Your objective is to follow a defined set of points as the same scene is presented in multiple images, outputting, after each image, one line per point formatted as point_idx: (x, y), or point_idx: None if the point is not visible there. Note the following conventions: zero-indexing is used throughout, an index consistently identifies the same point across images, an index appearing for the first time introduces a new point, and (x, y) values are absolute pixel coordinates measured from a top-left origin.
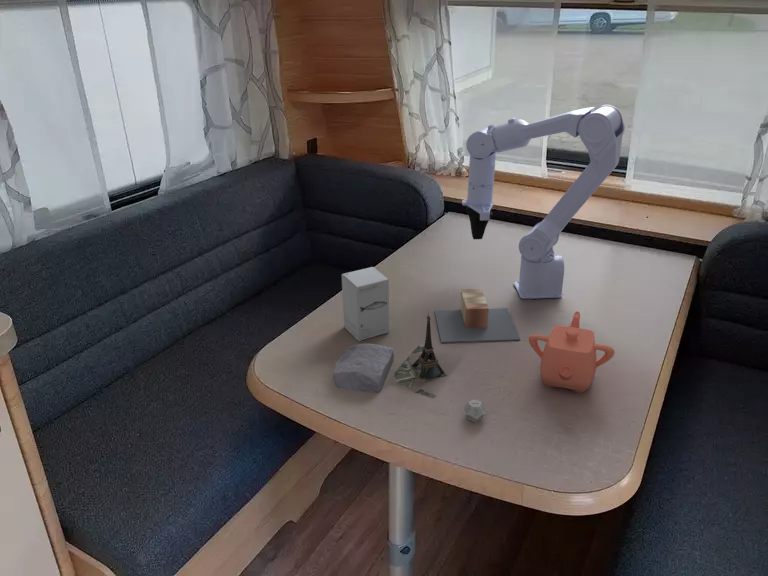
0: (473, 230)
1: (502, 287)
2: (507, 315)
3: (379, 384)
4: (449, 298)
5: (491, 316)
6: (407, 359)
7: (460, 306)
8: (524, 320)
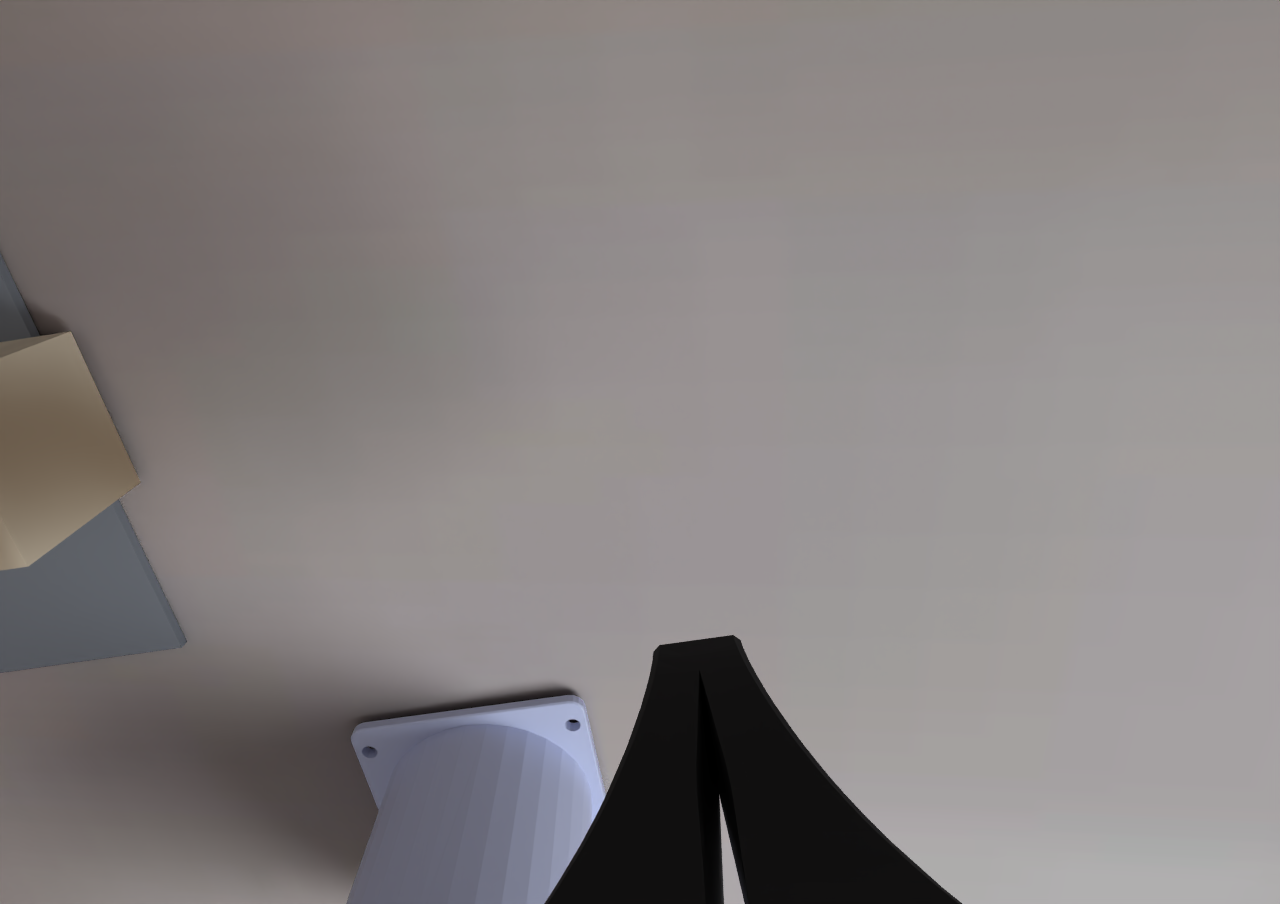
0: (628, 757)
1: (521, 622)
2: (76, 645)
3: None
4: (237, 232)
5: None
6: None
7: (46, 337)
8: (75, 724)
